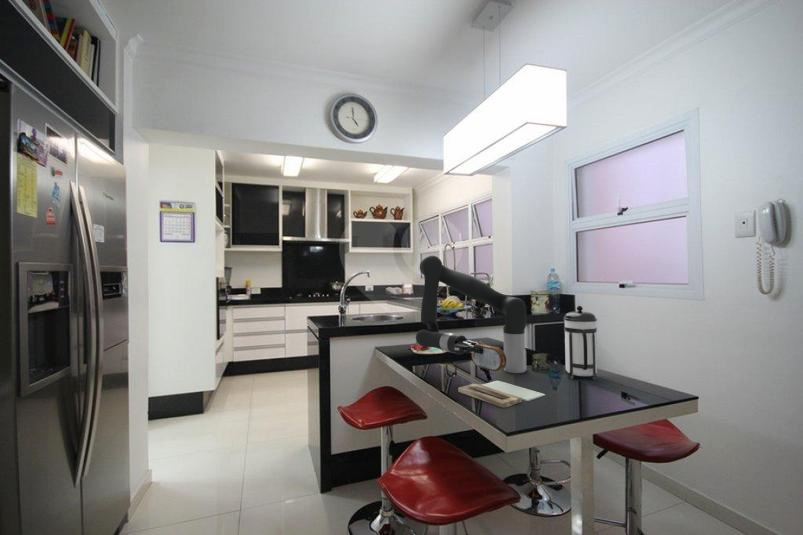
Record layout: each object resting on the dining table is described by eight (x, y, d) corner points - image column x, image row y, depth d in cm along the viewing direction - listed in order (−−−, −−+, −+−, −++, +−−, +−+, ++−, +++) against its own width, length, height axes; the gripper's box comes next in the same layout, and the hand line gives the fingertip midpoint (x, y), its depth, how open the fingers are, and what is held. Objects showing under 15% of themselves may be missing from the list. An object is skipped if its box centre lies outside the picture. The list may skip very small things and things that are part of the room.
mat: (497, 381, 152) (497, 380, 152) (545, 395, 134) (545, 394, 134) (480, 386, 147) (480, 384, 147) (527, 401, 129) (527, 399, 129)
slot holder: (476, 387, 146) (475, 383, 146) (521, 402, 128) (521, 397, 128) (458, 391, 140) (458, 387, 140) (503, 408, 123) (503, 403, 123)
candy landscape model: (404, 347, 228) (404, 332, 228) (440, 344, 235) (439, 330, 235) (418, 355, 204) (418, 338, 204) (457, 352, 211) (457, 336, 211)
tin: (506, 372, 129) (507, 348, 130) (500, 373, 127) (501, 349, 128) (475, 364, 142) (475, 342, 142) (469, 365, 140) (469, 342, 140)
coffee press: (552, 374, 162) (551, 305, 162) (579, 370, 168) (577, 303, 169) (586, 385, 146) (584, 308, 146) (614, 380, 152) (612, 306, 153)
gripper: (439, 336, 146) (471, 342, 131) (465, 332, 153) (498, 337, 139) (440, 355, 145) (472, 363, 131) (466, 350, 153) (499, 357, 139)
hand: (485, 350), depth 135 cm, fingers closed on tin, 2 cm apart
